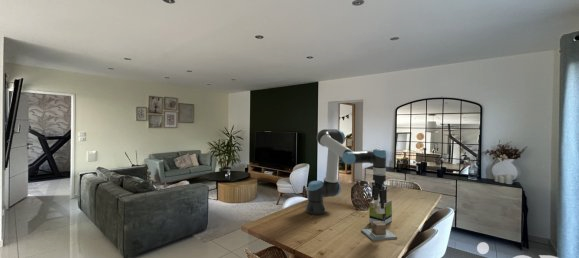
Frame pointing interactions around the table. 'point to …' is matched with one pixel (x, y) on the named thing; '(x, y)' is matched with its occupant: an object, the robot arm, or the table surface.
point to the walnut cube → (379, 228)
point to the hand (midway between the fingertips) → (378, 211)
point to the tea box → (381, 217)
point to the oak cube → (377, 208)
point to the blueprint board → (378, 237)
